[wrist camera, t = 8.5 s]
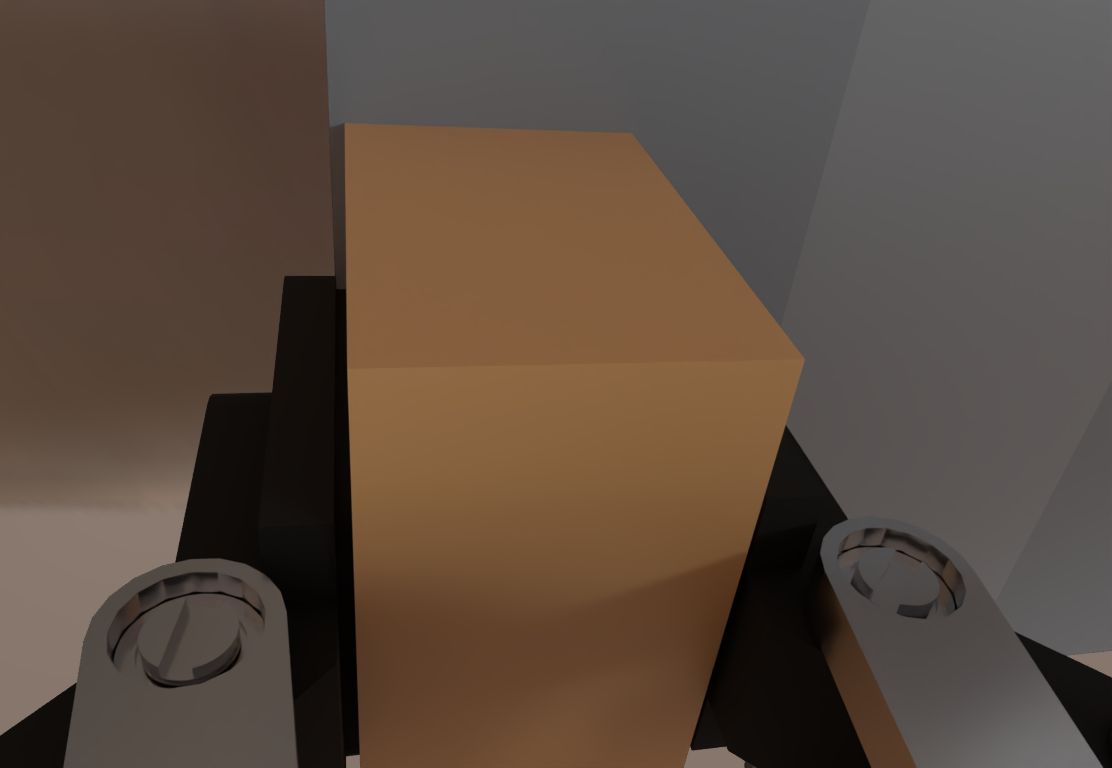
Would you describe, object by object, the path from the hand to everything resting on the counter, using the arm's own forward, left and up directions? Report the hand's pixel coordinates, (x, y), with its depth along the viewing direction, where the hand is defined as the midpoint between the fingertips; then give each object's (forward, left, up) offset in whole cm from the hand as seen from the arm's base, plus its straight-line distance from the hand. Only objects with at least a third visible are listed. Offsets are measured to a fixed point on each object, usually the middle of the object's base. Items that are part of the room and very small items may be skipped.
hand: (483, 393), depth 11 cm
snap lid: (-7, 0, -2) cm, 7 cm away
